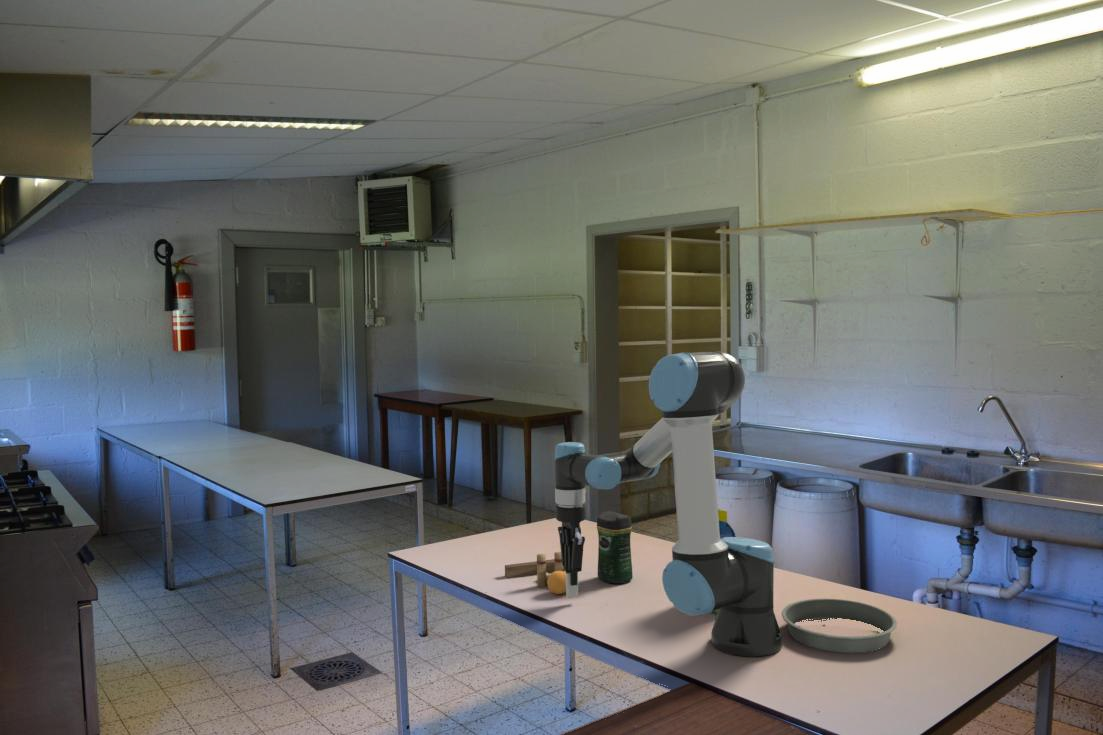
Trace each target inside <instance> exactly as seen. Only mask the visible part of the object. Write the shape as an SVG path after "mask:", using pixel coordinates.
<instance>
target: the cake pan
mask: <svg viewBox="0 0 1103 735" xmlns="http://www.w3.org/2000/svg"><path fill="white" fill-rule="evenodd" d="M781 616H782V619H783V620H784V622H785V623H787V628H788V631H789V634H790V633H791V634H790V636H793V637H794V639H795V640H796V639H797V640H796V641H798V642H799V641H800V642H799V643H801V642H802V644H803V643H804V645H806V646H808V645H809V646H808V647H811V646H812V648H814V647H815V649H818V650H822V649H823V651H827V650H828V652H833V651H836V652H835V653H842V652H862V653H868V652H867V651H870V652H873V651H872V650H875V651H877V650H876V649H878V650H880V649H879V648H881V649H883V648H884V646H885V645H886V644H887V643H889V642H890V637H891V634H892V632H894V631H895V630H896V628H897V625H898V623H897V619H896V617H894V616H893V614H891V613H890V612H888V611H886V610H884V609H882V608H880V607H877V606H875V605H872V604H867V603H866V602H865V603H864V602H860V601H855V600H848V599H842V598H825V597H824V598H810V599H809V598H808V599H803V600H799V601H798V600H797V601H795V602H792V603H790V604H788V605H786V606H784V608H783V609H782V611H781ZM828 618H829V620H830V618H832V619H833V618H834V619H837V618H842V619H850V620H856V621H861V622H864V623H867V624H871V625H873V626H875V627H877V628H880V629H881V630H883V631H884V632H882V633H876V634H870V635H869V634H868V635H859V636H858V635H857V636H856V635H855V636H854V635H853V636H847V635H836V634H835V635H834V634H828V633H827V634H826V633H821V632H817V631H812V630H810V629H807V628H805V627H799V626H797V625H795V623H796V622H800V621H801V622H802V620H806V619H808V621H814V620H821V622H822V619H826V620H827V619H828ZM809 619H811V620H809ZM812 619H813V620H812ZM826 620H823V621H826ZM806 621H807V620H806ZM803 622H804V621H803ZM818 622H819V621H818ZM793 637H792V638H793ZM887 645H888V644H887ZM887 645H886V646H887ZM886 646H885V647H886ZM882 647H883V648H882Z"/></svg>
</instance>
